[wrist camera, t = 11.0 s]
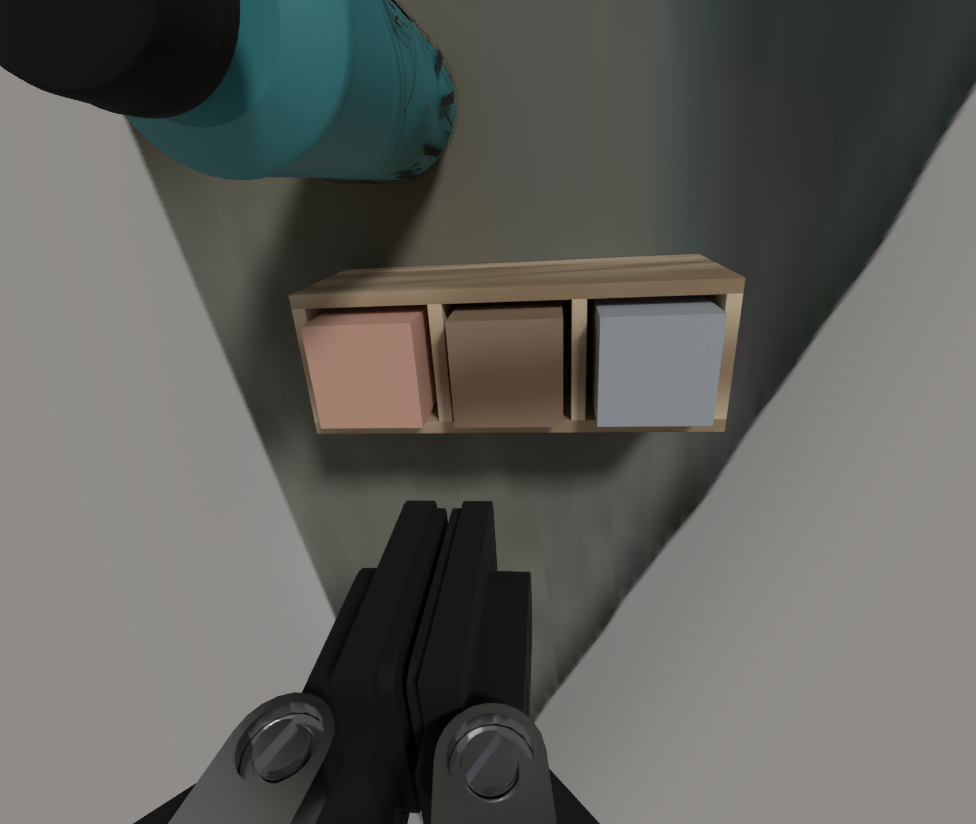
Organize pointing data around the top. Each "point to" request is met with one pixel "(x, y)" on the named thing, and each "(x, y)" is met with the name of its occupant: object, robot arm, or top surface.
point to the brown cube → (506, 364)
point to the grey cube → (655, 360)
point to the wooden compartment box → (530, 283)
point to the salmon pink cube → (371, 366)
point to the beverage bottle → (247, 80)
